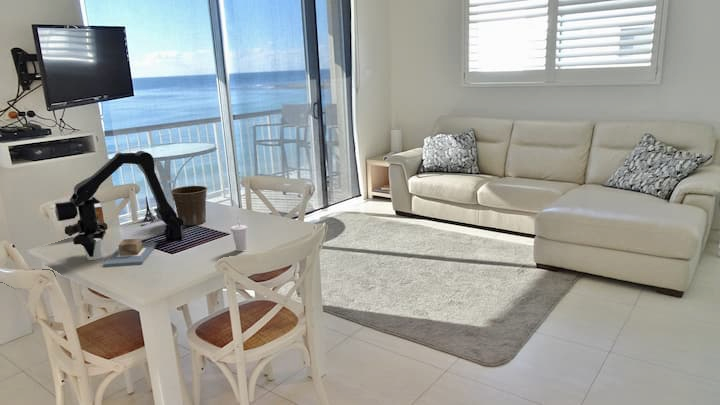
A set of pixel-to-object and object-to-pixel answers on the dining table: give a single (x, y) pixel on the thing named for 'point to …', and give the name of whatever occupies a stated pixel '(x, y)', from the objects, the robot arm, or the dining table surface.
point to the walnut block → (130, 247)
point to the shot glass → (96, 250)
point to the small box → (99, 214)
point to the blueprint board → (131, 256)
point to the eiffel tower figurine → (149, 215)
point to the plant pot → (190, 204)
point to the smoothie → (239, 236)
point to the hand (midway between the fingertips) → (94, 253)
